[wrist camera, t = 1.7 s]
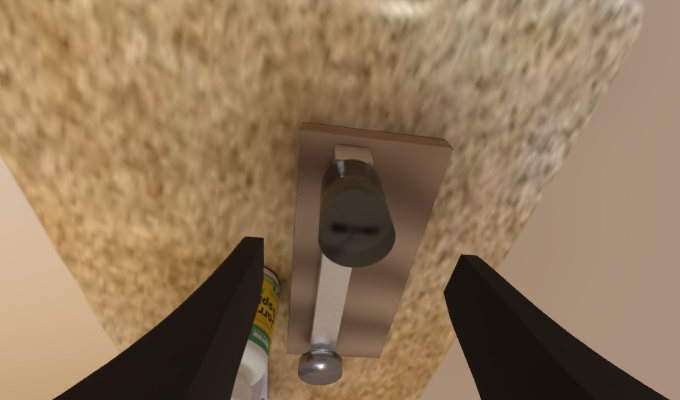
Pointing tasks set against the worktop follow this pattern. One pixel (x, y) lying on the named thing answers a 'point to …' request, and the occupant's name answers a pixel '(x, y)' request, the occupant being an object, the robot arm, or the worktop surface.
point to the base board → (407, 216)
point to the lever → (344, 251)
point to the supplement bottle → (258, 340)
